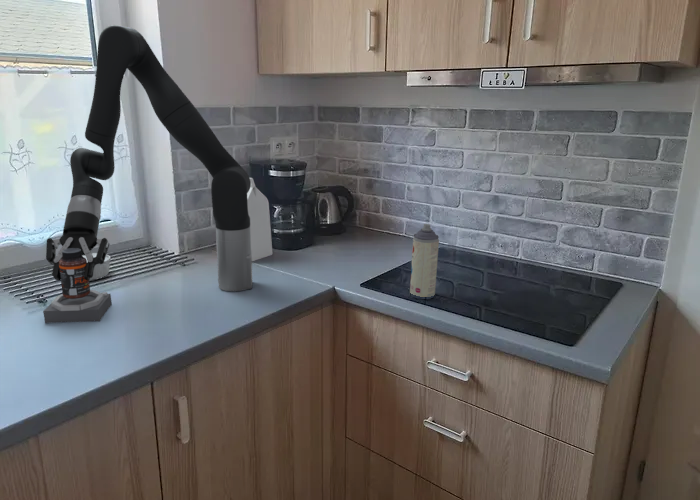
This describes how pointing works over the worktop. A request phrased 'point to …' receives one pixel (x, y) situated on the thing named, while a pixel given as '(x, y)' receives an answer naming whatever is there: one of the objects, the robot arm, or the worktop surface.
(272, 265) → the worktop surface
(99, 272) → the ramekin
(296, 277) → the worktop surface
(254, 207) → the milk
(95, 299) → the octagonal shallow tray
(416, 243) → the aerosol can
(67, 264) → the supplement bottle
